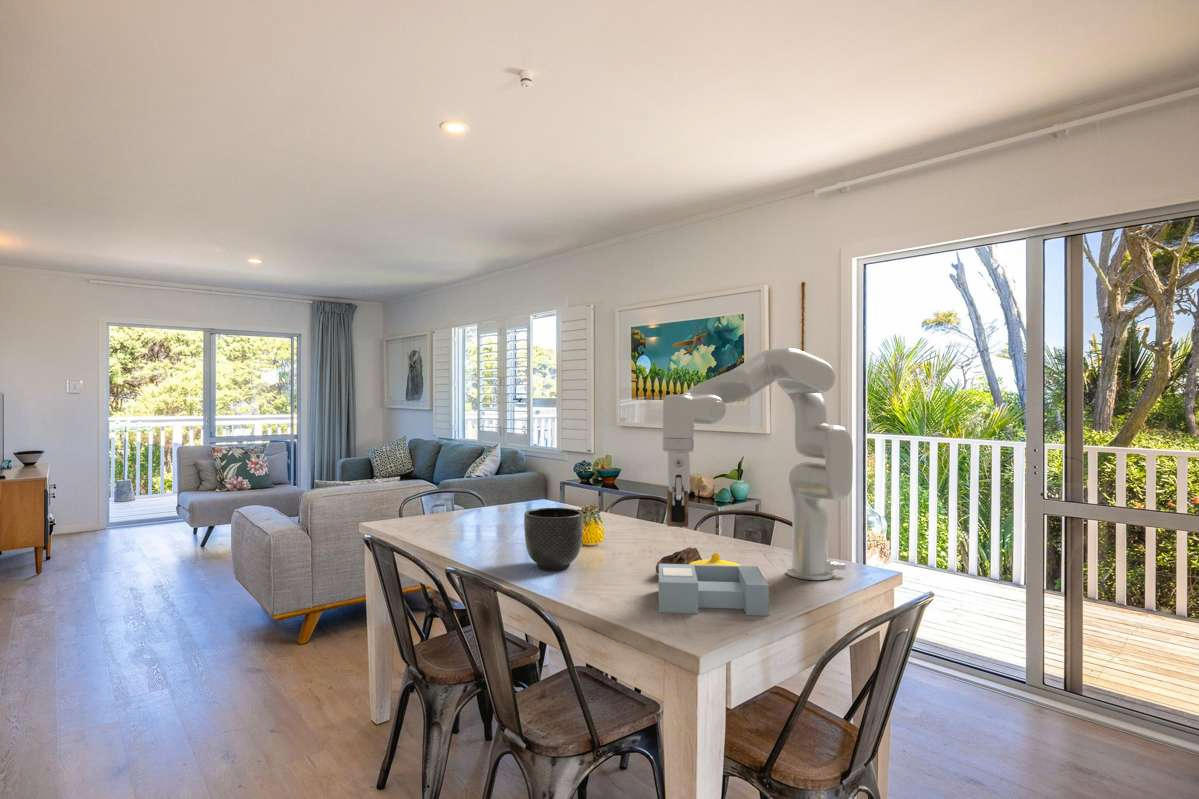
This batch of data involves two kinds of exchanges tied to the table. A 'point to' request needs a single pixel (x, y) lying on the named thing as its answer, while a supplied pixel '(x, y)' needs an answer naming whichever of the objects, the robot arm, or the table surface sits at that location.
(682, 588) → the slot box
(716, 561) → the yellow piece
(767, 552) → the table surface
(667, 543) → the table surface
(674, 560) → the driftwood
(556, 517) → the planter
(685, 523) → the walnut block
